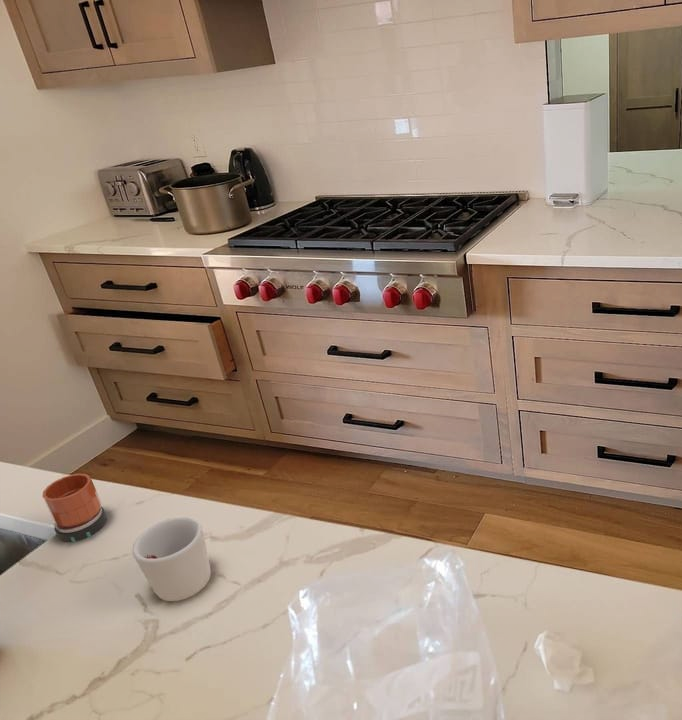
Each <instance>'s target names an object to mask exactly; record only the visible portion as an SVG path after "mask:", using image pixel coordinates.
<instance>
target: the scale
mask: <svg viewBox="0 0 682 720" xmlns="http://www.w3.org/2000/svg"><path fill="white" fill-rule="evenodd" d="M107 522H108V516H107V514H106V512H105V508H103V506H101V508H100V509H99V511H98V513H97V514H96V515H95V516H94V517H93V518H92V519H90V520H89V521H87V522H85V523H83V524H80V525H77V526H73V527H64V526H60V525H57V524H56V523H55V522H54V532H55V534H56V536H57V537H58V539H59V540H60V541H61V542H64V543H75V542H79V541H83V540H85V539H87V538H90V537H92V536H94V535H95V534H97V533H98V532H100V530H102V529H103V527H105V526H106V524H107Z"/></svg>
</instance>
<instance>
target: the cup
mask: <svg viewBox="0 0 682 720" xmlns="http://www.w3.org/2000/svg"><path fill="white" fill-rule="evenodd" d="M132 555H133V558H134V560H135V562H136V563H137V565H138V566H139V568H140V571H141V572H142V573H143V575H144V577H145V578H146V580H147V582H148V583H149V585H150V587H151V589H152V590H153V592H154V593H155V594H156V596H157V597H158V598H159V599H161V600H162V601H165V602H179V601H183V600H186V599H188V598H190V597H192V596H194V595H196V594H197V593H199V592H200V591H201V590H203V588H204V587H205V586H206V585H207V584H208V583H209V581H210V578H211V563H210V560H209V554H208V549H207V545H206V541H205V535H204V530H203V526H202V525H201V523H200V522H199V521H198V520H196V519H195V518H192V517H187V516H182V517H181V516H177V517H171V518H168V519H164V520H162V521H160V522H157V523H156V524H154V525H153V524H152V526H150V527H148V528H147V529H146V530H144V531H143V532H142V533H141V534H140V535H139V536H138V537H137V538H136V540H135V542H134V544H133V546H132Z"/></svg>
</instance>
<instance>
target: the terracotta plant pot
mask: <svg viewBox="0 0 682 720" xmlns="http://www.w3.org/2000/svg"><path fill="white" fill-rule="evenodd" d="M42 499H43V501H44V503H45V505H46V507H47V509H48V511H49V514H50V515H51V518H52V520H53V522H54V524H55V523H56V524H57V525H60V526H64V527H73V526H77V525H80V524H83V523H85V522H87V521H89V520H90V519H92V518H93V517H94V516H95V515H96V514H97V513H98V511H99V509H100V508H101V507H102V501H101V499H100V496H99V493H98V492H97V489H96V487H95V484H94V482H93V479H92V477H90V475H89V474H86V473H73V474H69V475H66V476H63V477H61V478H58V479H57V480H55V481H53V482H51V483H50V484H48V485H47V486H46V488H45V489H44V490H43V491H42Z"/></svg>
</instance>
